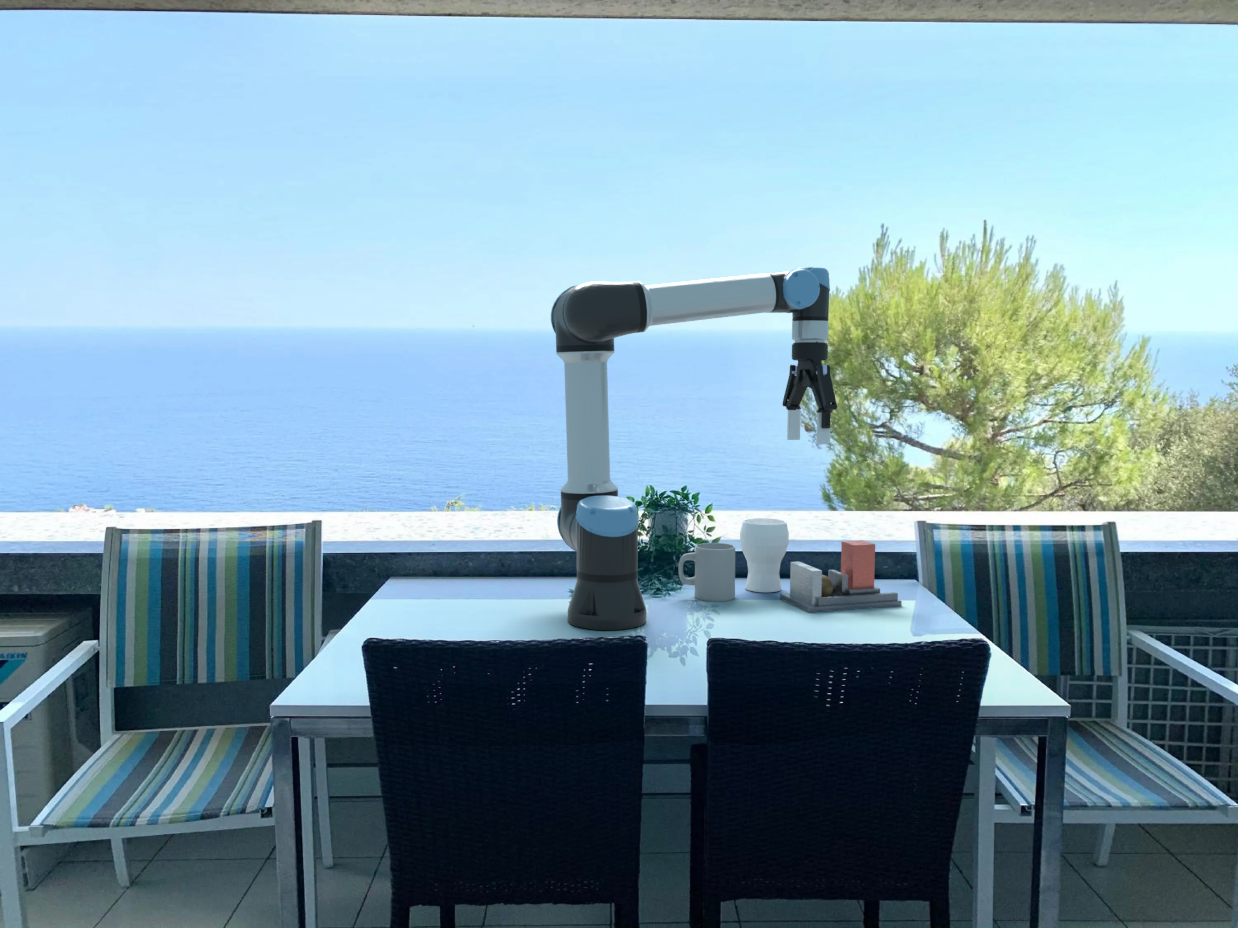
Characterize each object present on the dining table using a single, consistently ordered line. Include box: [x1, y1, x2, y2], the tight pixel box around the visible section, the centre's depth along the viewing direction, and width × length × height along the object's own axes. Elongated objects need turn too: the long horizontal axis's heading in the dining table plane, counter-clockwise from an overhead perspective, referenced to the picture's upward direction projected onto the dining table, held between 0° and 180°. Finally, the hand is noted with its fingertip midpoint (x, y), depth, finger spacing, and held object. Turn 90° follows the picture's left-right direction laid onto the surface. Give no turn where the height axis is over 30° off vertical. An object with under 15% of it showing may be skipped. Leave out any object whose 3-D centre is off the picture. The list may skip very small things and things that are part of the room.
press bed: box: [779, 561, 903, 613], centre depth 213 cm, size 21×13×8 cm, turn 107°
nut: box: [821, 574, 833, 597], centre depth 212 cm, size 5×5×5 cm
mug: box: [677, 542, 736, 603], centre depth 217 cm, size 12×8×11 cm
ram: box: [827, 539, 881, 596], centre depth 213 cm, size 8×8×11 cm
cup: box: [739, 517, 790, 593], centre depth 225 cm, size 11×11×15 cm
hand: (807, 442), depth 219 cm, fingers open, 13 cm apart
